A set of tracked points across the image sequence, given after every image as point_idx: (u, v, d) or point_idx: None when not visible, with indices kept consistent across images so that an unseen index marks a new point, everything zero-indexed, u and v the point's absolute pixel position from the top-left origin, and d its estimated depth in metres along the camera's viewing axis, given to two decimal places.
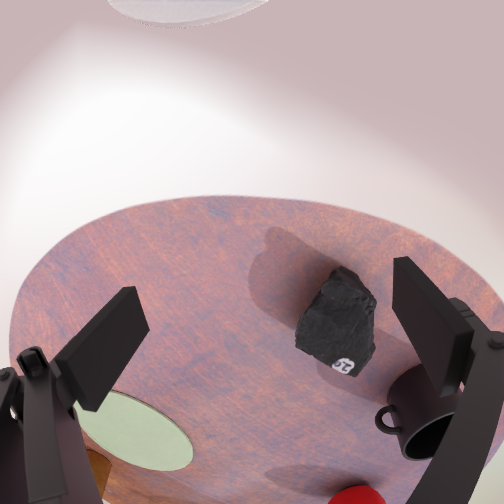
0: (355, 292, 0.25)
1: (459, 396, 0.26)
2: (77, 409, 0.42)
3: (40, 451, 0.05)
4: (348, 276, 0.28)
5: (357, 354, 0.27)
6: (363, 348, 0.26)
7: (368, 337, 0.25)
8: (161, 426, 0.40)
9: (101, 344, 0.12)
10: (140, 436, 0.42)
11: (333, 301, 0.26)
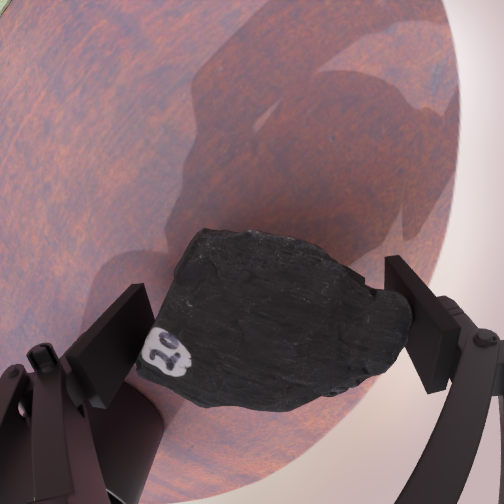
0: (381, 366, 0.10)
1: None
2: None
3: (48, 449, 0.06)
4: None
5: (211, 386, 0.11)
6: (231, 398, 0.11)
7: (269, 409, 0.11)
8: None
9: (111, 340, 0.12)
10: None
11: (359, 322, 0.10)
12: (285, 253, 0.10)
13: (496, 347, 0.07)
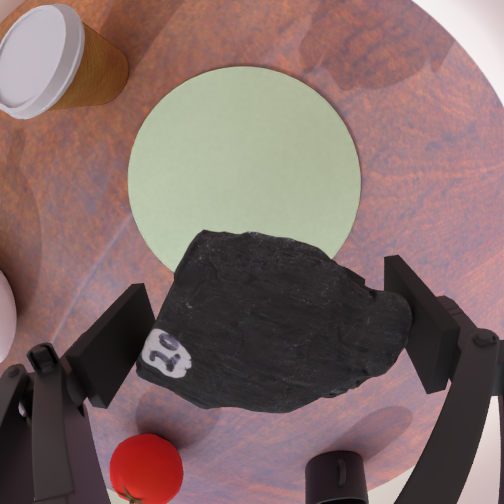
0: (381, 367, 0.10)
1: (360, 498, 0.35)
2: (281, 82, 0.24)
3: (48, 449, 0.06)
4: None
5: (211, 387, 0.11)
6: (231, 400, 0.11)
7: (269, 410, 0.11)
8: None
9: (111, 340, 0.12)
10: (247, 210, 0.28)
11: (359, 324, 0.10)
12: (285, 254, 0.10)
13: (496, 347, 0.07)
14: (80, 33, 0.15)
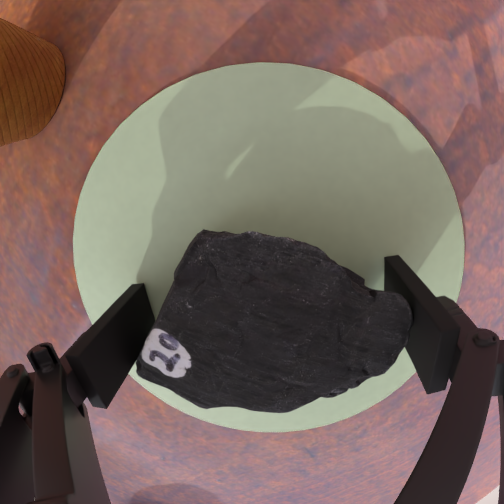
0: (381, 367, 0.10)
1: None
2: (350, 98, 0.12)
3: (48, 449, 0.06)
4: None
5: (211, 387, 0.11)
6: (231, 399, 0.11)
7: (268, 410, 0.11)
8: (344, 394, 0.17)
9: (111, 340, 0.12)
10: None
11: (358, 323, 0.10)
12: (284, 254, 0.10)
13: (496, 347, 0.07)
14: None
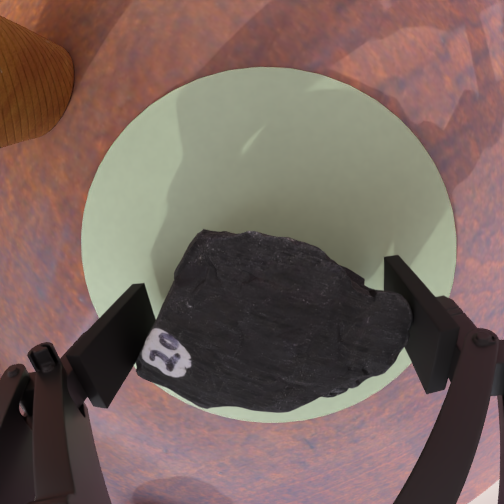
0: (381, 367, 0.10)
1: None
2: (345, 101, 0.13)
3: (48, 449, 0.06)
4: None
5: (211, 387, 0.11)
6: (231, 399, 0.11)
7: (268, 410, 0.11)
8: None
9: (112, 340, 0.12)
10: None
11: (358, 323, 0.10)
12: (284, 254, 0.10)
13: (495, 347, 0.07)
14: None
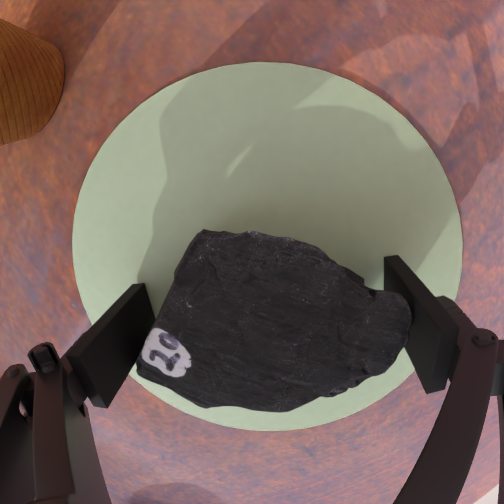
0: (380, 367, 0.10)
1: None
2: (347, 98, 0.12)
3: (49, 449, 0.06)
4: None
5: (210, 387, 0.11)
6: (231, 399, 0.11)
7: (268, 410, 0.11)
8: (343, 393, 0.17)
9: (112, 340, 0.12)
10: None
11: (358, 323, 0.10)
12: (284, 254, 0.10)
13: (495, 347, 0.07)
14: None
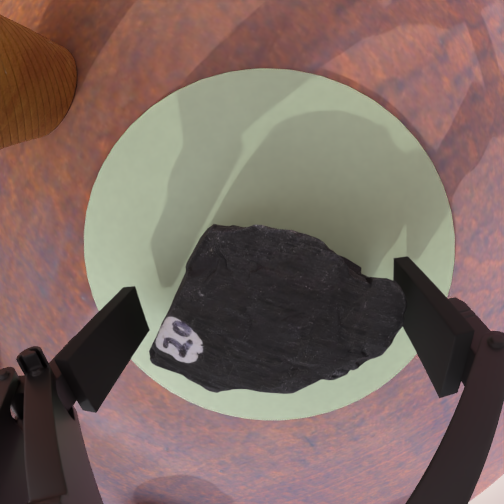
0: (378, 349, 0.11)
1: None
2: (345, 102, 0.13)
3: (40, 451, 0.05)
4: None
5: (221, 370, 0.12)
6: (240, 382, 0.12)
7: (275, 391, 0.12)
8: (342, 382, 0.18)
9: (101, 344, 0.12)
10: None
11: (356, 308, 0.11)
12: (288, 245, 0.11)
13: None
14: None
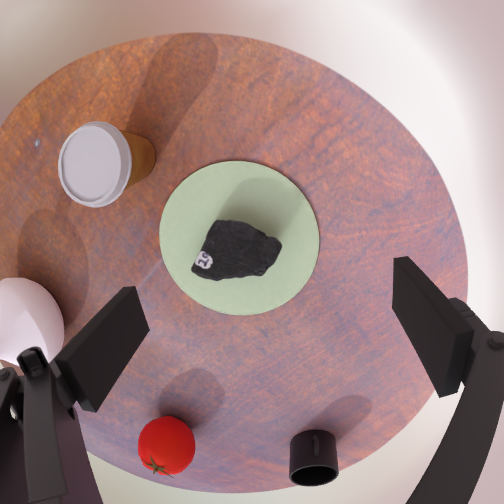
0: (271, 261, 0.37)
1: (334, 470, 0.49)
2: (265, 173, 0.39)
3: (40, 451, 0.05)
4: None
5: (218, 269, 0.38)
6: (225, 273, 0.38)
7: (236, 276, 0.37)
8: (274, 292, 0.44)
9: (101, 344, 0.12)
10: None
11: (262, 246, 0.37)
12: (239, 225, 0.37)
13: None
14: (129, 154, 0.29)
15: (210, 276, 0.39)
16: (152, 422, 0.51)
